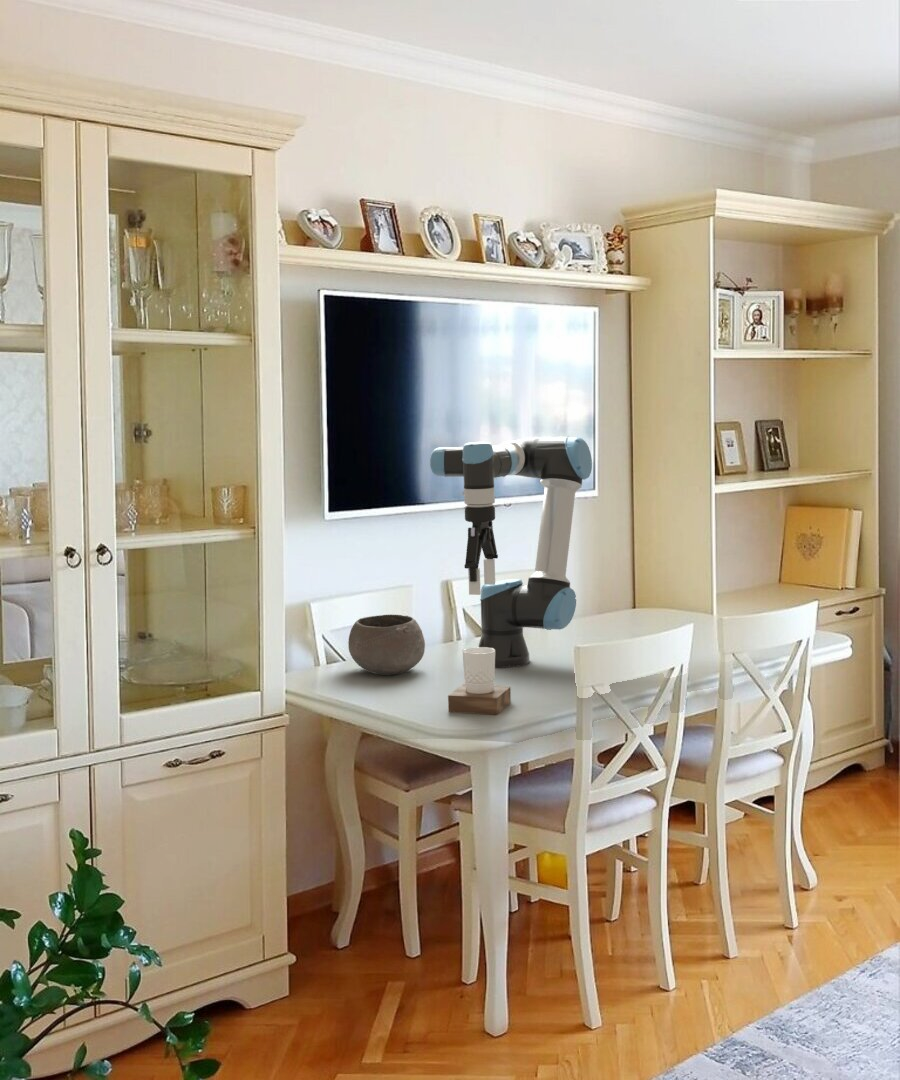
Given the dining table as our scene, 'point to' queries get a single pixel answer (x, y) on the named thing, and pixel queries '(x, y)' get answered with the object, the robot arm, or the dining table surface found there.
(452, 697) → the walnut plinth
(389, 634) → the clay pot
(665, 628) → the dining table surface
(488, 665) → the white cup
